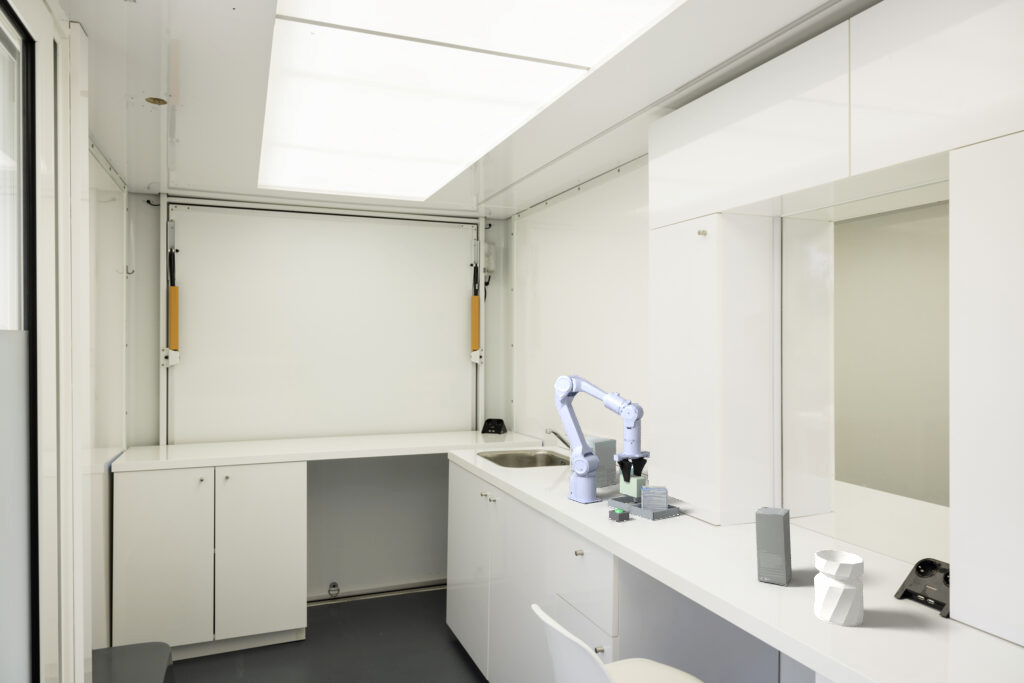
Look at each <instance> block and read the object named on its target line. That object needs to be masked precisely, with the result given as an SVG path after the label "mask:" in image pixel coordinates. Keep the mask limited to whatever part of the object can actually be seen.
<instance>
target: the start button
mask: <svg viewBox="0 0 1024 683" xmlns="http://www.w3.org/2000/svg"><path fill="white" fill-rule="evenodd" d="M614 510H615V512H617V513H623V509H615V508H614Z"/></svg>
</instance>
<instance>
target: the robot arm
mask: <svg viewBox="0 0 1024 683" xmlns="http://www.w3.org/2000/svg"><path fill="white" fill-rule="evenodd" d="M553 387H554V390H555V392H554V393H555V394H554V395H555V396H554V404H555V408H556V410H557V412H558V415H559V418H560V420H561V422H562V425H563V427H564V431H565V433H566V436H567V439H568V441H569V445H570V444H571V447H572V449H573V452H572V455H571V458H572V461H573V465H572V466H573V470H574V472H575V473H574V474H572V476H571V478H570V477H569V496H567V499H569V500H572V501H575V502H578V503H581V504H591V503H597V501H598V502H602V500H603V499H601V498H599V497H597V488H596V475H597V473H596V470H597V469H598V468H599V465H600V462H599V459H598V457H597V456H596V455H595V454H594V452H593V450H592V449H591V448H590V447H589V446H588V445H587V443H586V440H585V438H584V437H585V436H584V432H583V430H582V427H581V426H580V422H579V420H578V417H577V415H576V413H575V410H574V407H573V405H572V402H573V400H574V399H575V397H576V396H577V395H578V393H580V392H581V393H582V392H583V393H585V394H587V395H588V396H592V397H594V398H595V399H597V400H598V401H601V402H602V403H603V406H604V407H605V408H606V409H608V410H609V411H612V412H613V413H614V414H617V415H618V416H620V417H621V419H622V420H623V449H622V450H623V451H622V452H621V453H616V454H615V455H614V461H616V464H618V466H619V469H621V471H622V475H623V479H624V481H625V482H630V474H631V467H632V465H633V475H636V476H640V477H642V473H643V470H644V468H645V465H646V464H647V463H648V458H651V454H650V453H651V452H650V451H646V450H644V451H642V438H641V437H642V418H643V416H644V408H643V406H642V405H640V404H639V403H636V402H635V403H632V400H630V399H626V398H624V397H622V396H621V395H620V393H619V392H609V393H607V392H606V391H605V390H603V389H601V388H600V387H598V386H597V385H595V384H593V383H592V382H591V381H588V380H587V379H586V378H584V377H581V376H580V375H577V374H572V375H571V374H570V375H560V376H559V377H558V378H557V379H556V381H555V383H554V385H553Z"/></svg>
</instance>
